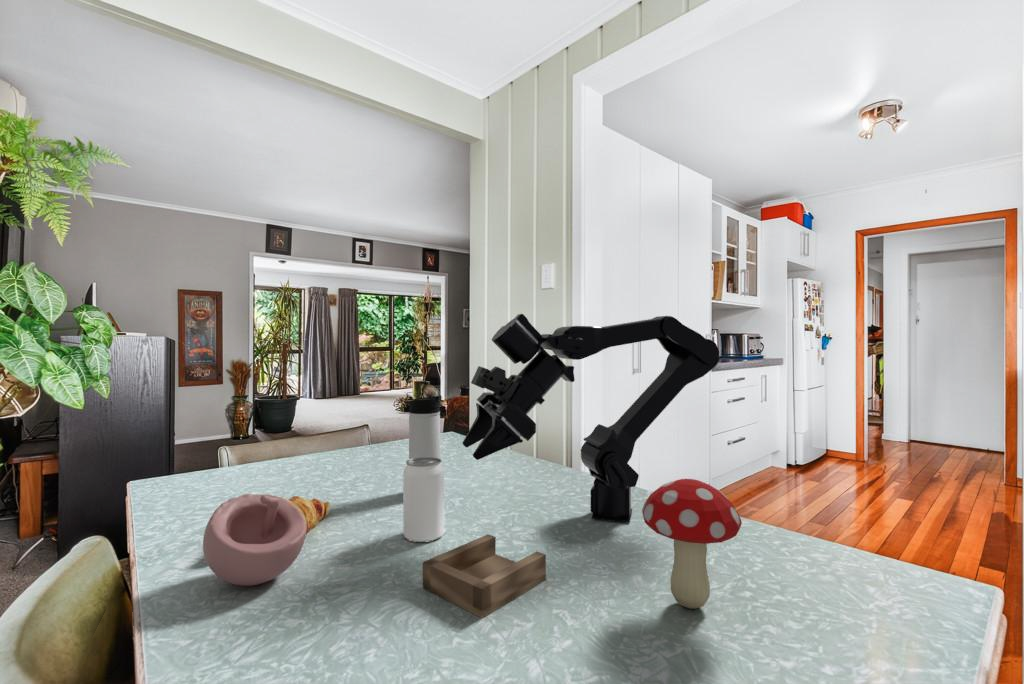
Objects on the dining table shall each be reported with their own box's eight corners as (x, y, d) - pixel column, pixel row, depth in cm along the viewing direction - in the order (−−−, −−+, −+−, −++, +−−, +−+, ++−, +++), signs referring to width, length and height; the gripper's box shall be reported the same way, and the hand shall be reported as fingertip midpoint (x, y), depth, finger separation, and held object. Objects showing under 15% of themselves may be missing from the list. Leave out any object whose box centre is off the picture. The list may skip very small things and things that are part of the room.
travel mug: (435, 498, 99) (435, 397, 99) (404, 496, 100) (403, 397, 100) (445, 489, 105) (445, 394, 105) (416, 487, 107) (416, 393, 106)
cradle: (487, 556, 73) (487, 534, 73) (545, 579, 66) (545, 554, 66) (422, 588, 64) (422, 562, 64) (482, 618, 57) (482, 589, 57)
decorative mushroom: (647, 577, 66) (648, 464, 66) (739, 593, 62) (740, 473, 62) (634, 621, 56) (634, 487, 56) (743, 644, 52) (744, 499, 52)
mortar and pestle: (240, 614, 58) (239, 515, 58) (183, 589, 64) (182, 499, 63) (325, 572, 68) (325, 487, 68) (269, 553, 74) (269, 476, 74)
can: (451, 530, 83) (450, 458, 83) (432, 546, 77) (432, 467, 77) (416, 525, 85) (416, 455, 85) (395, 540, 79) (395, 464, 79)
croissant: (316, 532, 91) (301, 490, 93) (355, 513, 88) (339, 470, 90) (204, 581, 72) (188, 528, 74) (248, 559, 69) (230, 503, 70)
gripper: (488, 348, 93) (428, 410, 90) (516, 351, 75) (442, 428, 72) (528, 389, 95) (471, 451, 92) (565, 401, 77) (495, 479, 74)
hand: (469, 451), depth 83 cm, fingers open, 9 cm apart
